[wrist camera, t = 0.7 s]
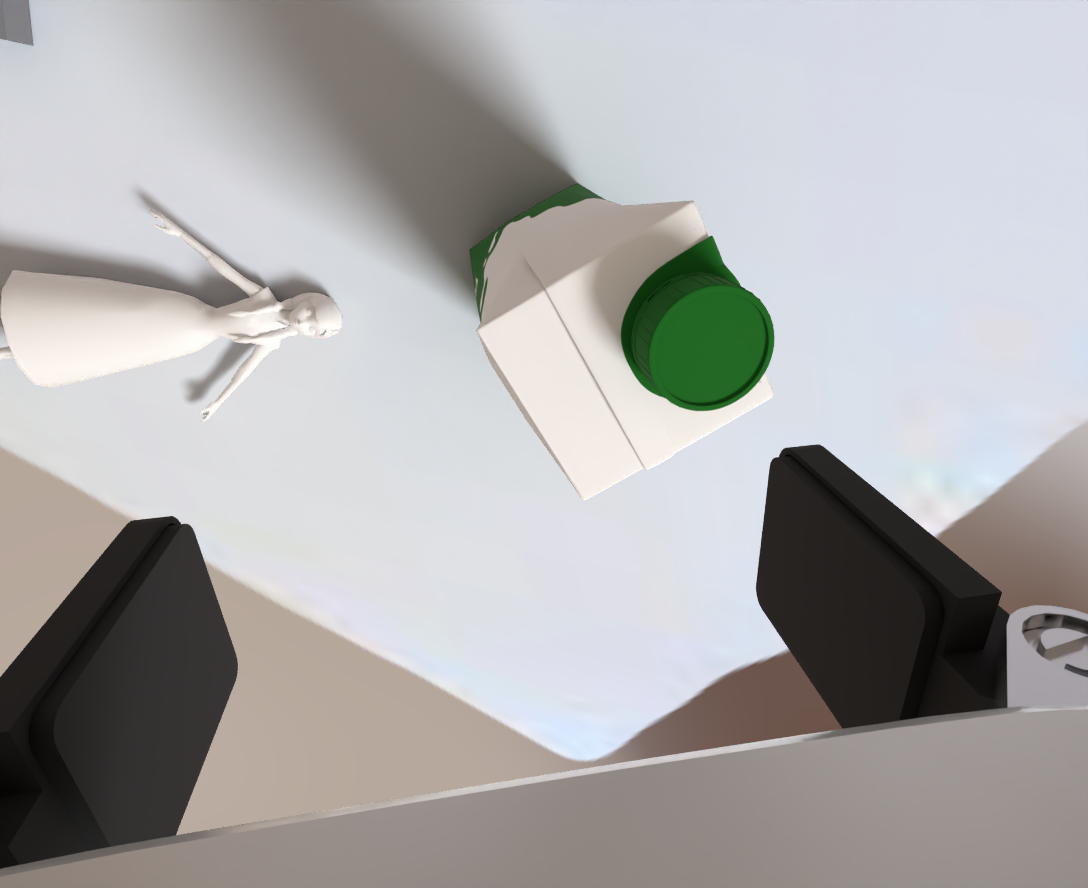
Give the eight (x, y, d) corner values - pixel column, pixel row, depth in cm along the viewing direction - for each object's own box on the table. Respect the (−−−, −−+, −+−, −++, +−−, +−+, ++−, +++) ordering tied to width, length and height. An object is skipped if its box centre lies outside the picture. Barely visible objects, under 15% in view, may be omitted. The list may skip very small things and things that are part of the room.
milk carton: (650, 296, 39) (826, 425, 21) (522, 371, 40) (585, 557, 22) (584, 157, 35) (730, 171, 17) (444, 244, 36) (443, 343, 18)
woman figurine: (-103, 217, 28) (324, 210, 32) (-42, 209, 32) (331, 203, 36) (-7, 455, 33) (353, 426, 37) (35, 422, 37) (357, 399, 41)
